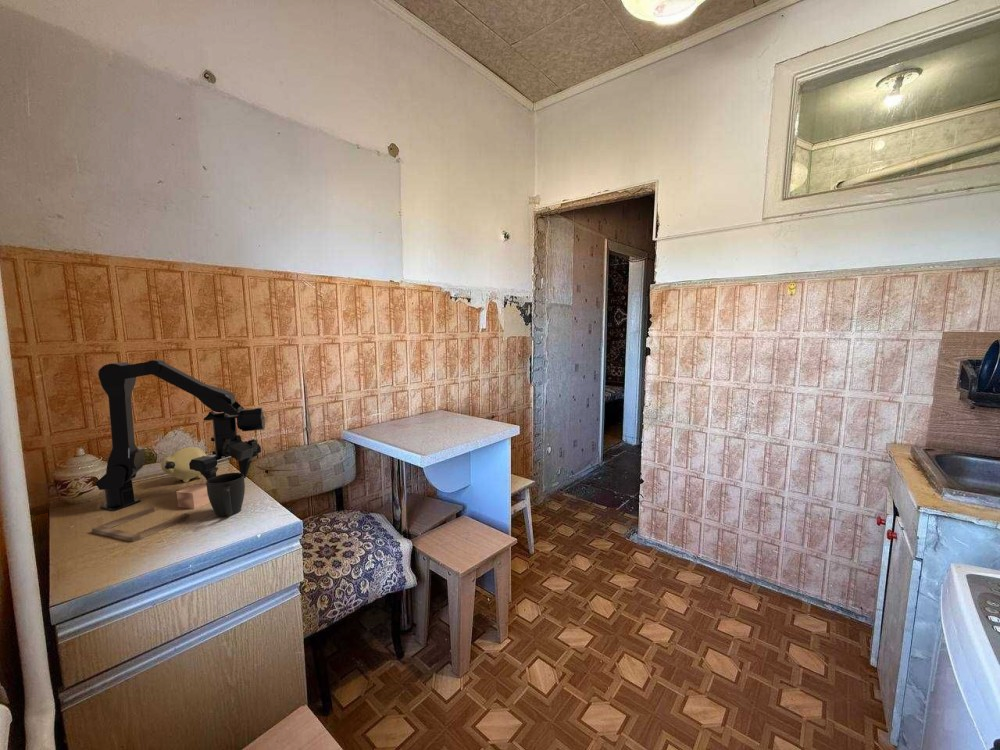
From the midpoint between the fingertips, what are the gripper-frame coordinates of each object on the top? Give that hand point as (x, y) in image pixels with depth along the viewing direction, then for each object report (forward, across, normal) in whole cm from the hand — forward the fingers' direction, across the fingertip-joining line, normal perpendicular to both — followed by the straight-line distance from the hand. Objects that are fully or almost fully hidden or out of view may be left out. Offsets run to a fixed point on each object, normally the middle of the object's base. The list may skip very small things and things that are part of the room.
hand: (230, 483), depth 123 cm
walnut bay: (+2, -22, 0) cm, 23 cm away
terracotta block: (+2, -10, 0) cm, 10 cm away
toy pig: (+2, +2, +22) cm, 22 cm away
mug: (+2, -13, -16) cm, 21 cm away
